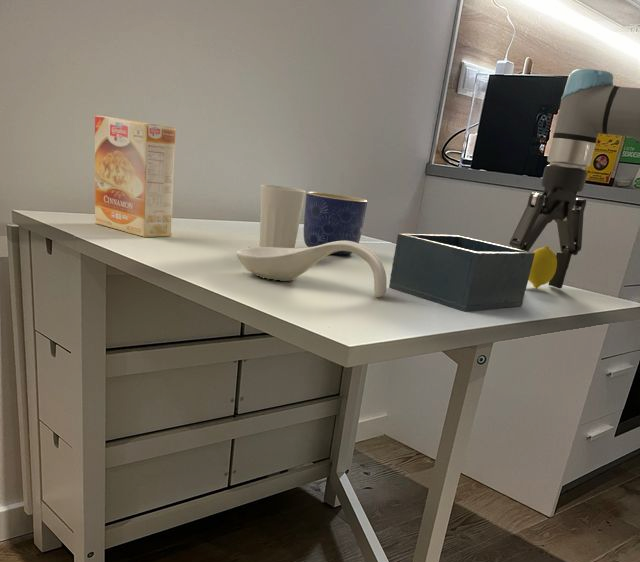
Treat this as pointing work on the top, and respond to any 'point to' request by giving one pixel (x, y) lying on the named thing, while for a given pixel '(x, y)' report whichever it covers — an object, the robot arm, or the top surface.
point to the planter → (333, 219)
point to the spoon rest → (306, 261)
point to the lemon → (543, 266)
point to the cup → (280, 215)
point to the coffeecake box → (134, 176)
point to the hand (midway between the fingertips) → (535, 286)
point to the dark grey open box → (460, 271)
